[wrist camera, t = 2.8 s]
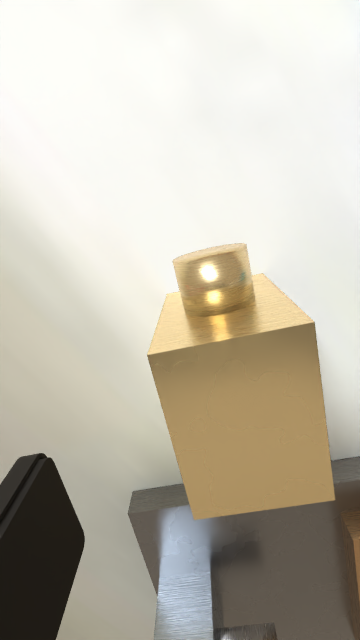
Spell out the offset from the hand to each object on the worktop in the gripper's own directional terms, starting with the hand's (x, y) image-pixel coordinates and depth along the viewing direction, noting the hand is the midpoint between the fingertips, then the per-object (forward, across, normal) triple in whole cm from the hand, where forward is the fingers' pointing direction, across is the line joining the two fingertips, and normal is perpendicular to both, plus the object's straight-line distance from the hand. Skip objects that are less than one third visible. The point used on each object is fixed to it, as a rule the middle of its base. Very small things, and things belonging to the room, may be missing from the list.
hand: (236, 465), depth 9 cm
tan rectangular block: (+8, -1, 0) cm, 8 cm away
